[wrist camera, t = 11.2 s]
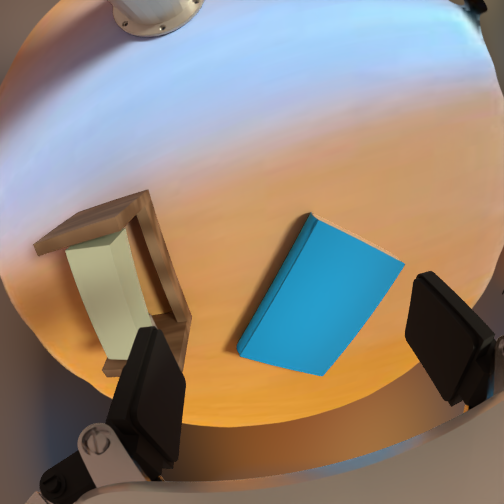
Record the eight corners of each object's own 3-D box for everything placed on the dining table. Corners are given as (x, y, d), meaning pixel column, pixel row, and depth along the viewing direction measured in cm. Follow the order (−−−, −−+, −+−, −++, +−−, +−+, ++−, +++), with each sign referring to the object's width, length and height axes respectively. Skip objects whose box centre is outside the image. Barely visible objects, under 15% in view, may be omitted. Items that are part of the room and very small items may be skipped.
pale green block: (83, 234, 31) (65, 250, 27) (125, 228, 32) (109, 245, 27) (118, 335, 38) (108, 359, 33) (155, 335, 38) (148, 359, 34)
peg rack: (77, 212, 37) (33, 244, 26) (148, 189, 36) (115, 216, 25) (127, 326, 45) (107, 377, 35) (192, 316, 45) (182, 371, 34)
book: (406, 263, 40) (324, 378, 48) (393, 251, 43) (318, 362, 52) (313, 217, 36) (236, 357, 44) (305, 208, 40) (235, 340, 48)
